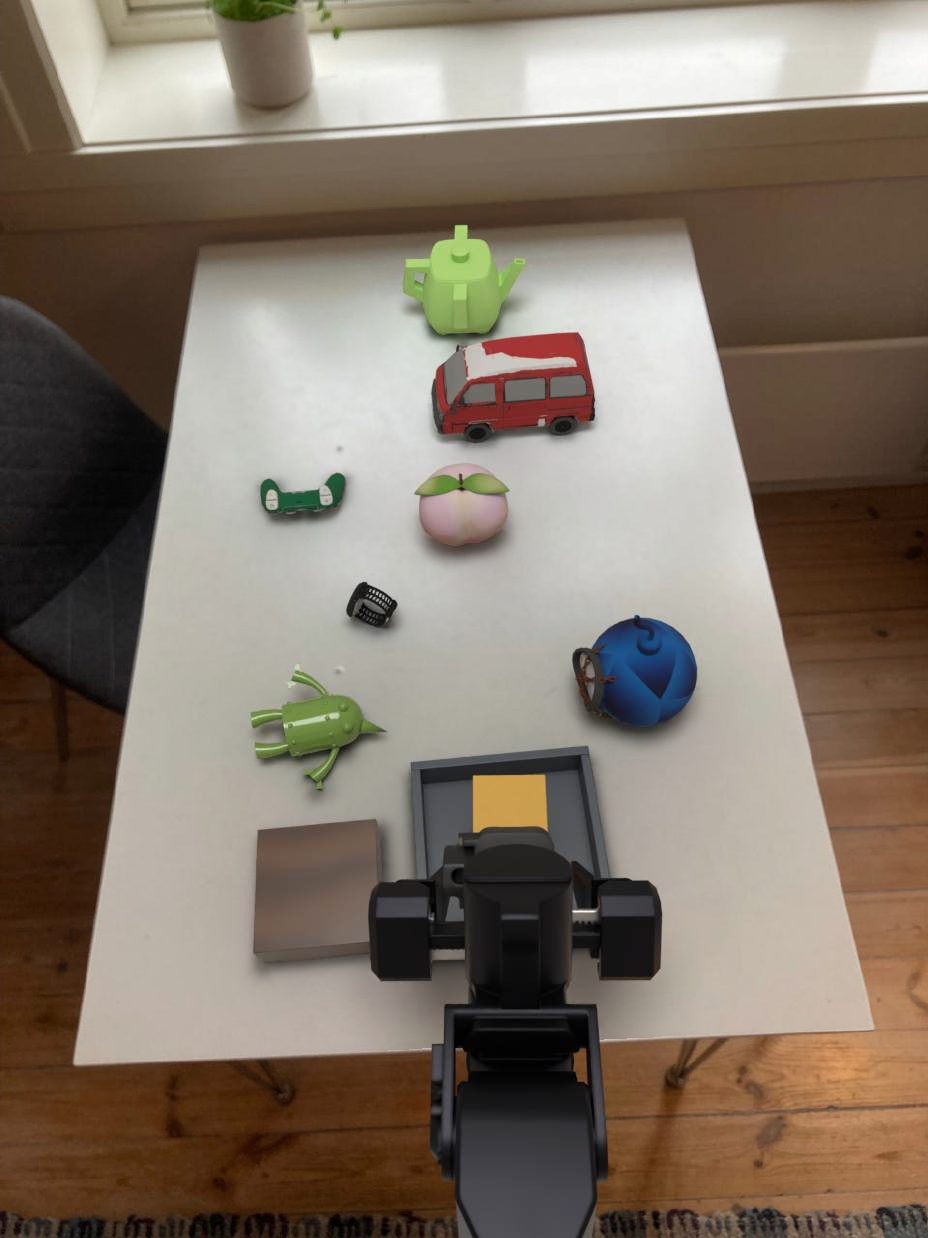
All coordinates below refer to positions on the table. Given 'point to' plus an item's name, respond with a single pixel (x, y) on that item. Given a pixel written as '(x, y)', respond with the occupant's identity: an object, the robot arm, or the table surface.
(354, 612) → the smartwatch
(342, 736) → the character figure
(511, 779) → the puzzle block
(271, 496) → the gaming controller
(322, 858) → the square wooden tile
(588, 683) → the bomb
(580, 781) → the tray
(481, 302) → the teapot
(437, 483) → the decorative fruit
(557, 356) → the toy car
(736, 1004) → the table surface
